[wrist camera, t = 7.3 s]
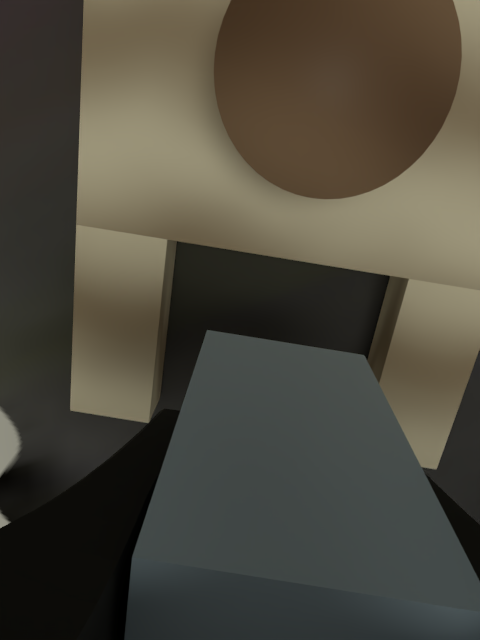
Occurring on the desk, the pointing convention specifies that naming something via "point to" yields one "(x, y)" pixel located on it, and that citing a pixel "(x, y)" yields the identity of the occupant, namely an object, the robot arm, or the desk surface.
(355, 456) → the tab peg
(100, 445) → the desk surface
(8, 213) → the desk surface
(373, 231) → the notched board
